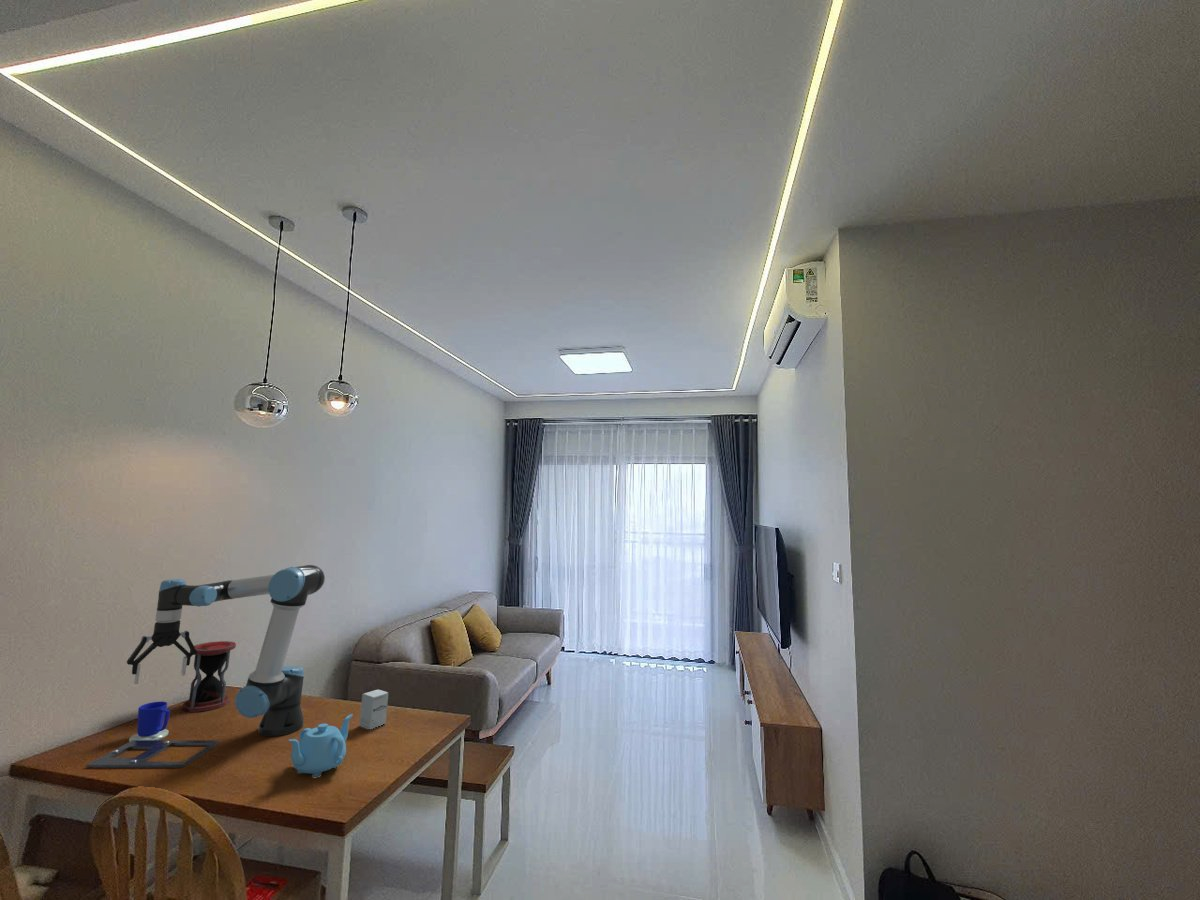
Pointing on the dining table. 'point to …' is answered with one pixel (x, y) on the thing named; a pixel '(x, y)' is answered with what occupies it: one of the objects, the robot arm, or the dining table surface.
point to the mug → (152, 718)
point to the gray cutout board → (149, 754)
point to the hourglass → (209, 677)
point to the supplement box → (373, 709)
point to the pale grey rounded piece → (152, 737)
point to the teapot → (320, 748)
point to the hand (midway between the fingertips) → (160, 678)
